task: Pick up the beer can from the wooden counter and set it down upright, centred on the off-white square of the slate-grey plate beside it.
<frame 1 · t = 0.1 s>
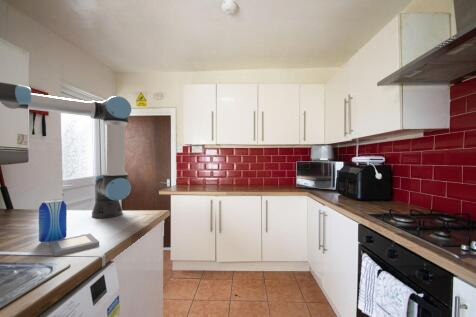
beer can: (53, 242, 90), on the countertop
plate: (74, 245, 85), on the countertop
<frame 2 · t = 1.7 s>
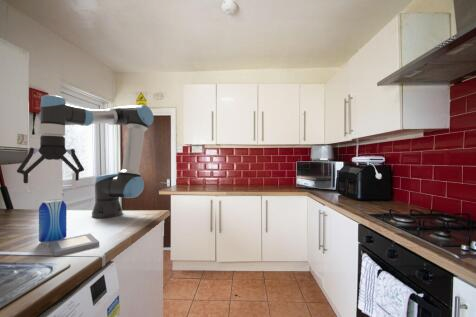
hand: (52, 190, 89), 20 cm above the countertop, tool pointing down, fingers open, 13 cm apart
nothing on the countertop moved.
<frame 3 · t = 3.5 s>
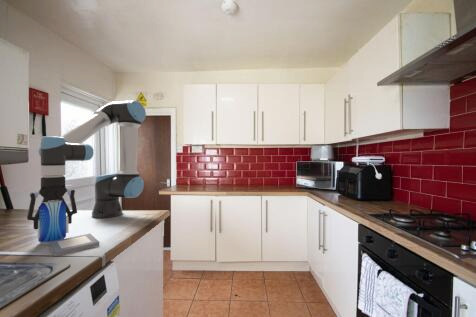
hand: (53, 234, 90), 3 cm above the countertop, tool pointing down, fingers closed on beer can, 8 cm apart
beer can: (52, 242, 90), on the countertop, touching gripper
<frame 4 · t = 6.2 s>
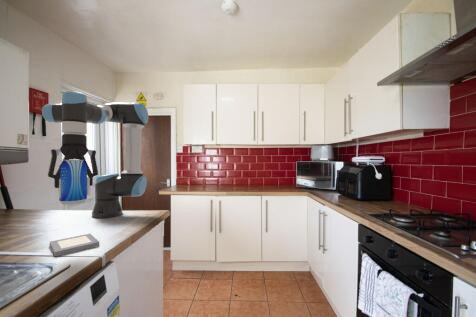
hand: (74, 195, 85), 19 cm above the countertop, tool pointing down, fingers closed on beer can, 8 cm apart
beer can: (73, 203, 85), point 16 cm above the countertop, touching gripper
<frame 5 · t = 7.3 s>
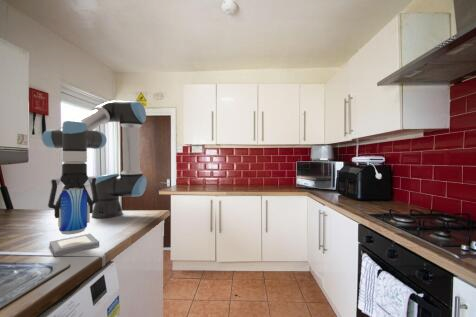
hand: (74, 224, 85), 8 cm above the countertop, tool pointing down, fingers closed on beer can, 8 cm apart
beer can: (73, 232, 85), point 5 cm above the countertop, touching gripper
when the fingers open (4 cm above the countertop, at t = 8.5 s): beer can stays where it is, resting on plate.
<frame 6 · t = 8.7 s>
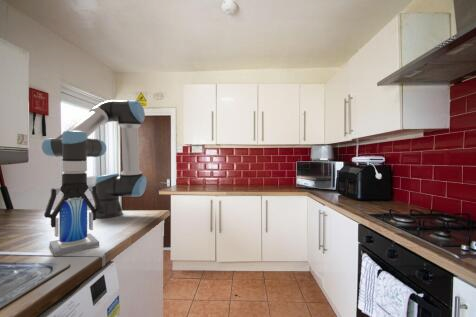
hand: (74, 232, 85), 5 cm above the countertop, tool pointing down, fingers open, 10 cm apart
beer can: (73, 242, 85), point 1 cm above the countertop, touching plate
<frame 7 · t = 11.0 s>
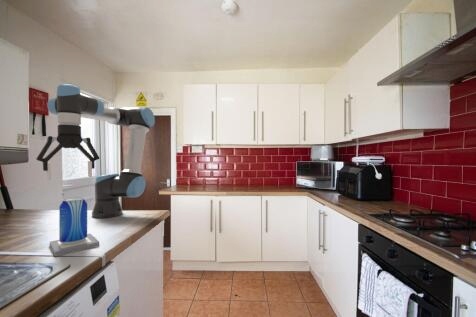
hand: (70, 178, 92), 25 cm above the countertop, tool pointing down, fingers open, 13 cm apart
nothing on the countertop moved.
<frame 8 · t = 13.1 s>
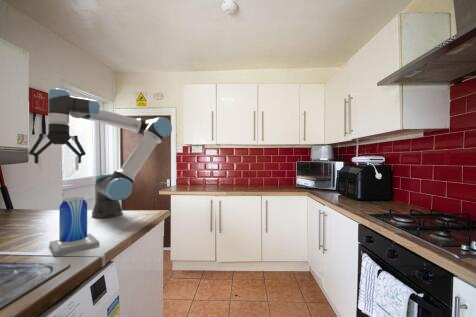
hand: (58, 170, 104), 27 cm above the countertop, tool pointing down, fingers open, 13 cm apart
nothing on the countertop moved.
at the end: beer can 0.2 cm from the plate (horizontally); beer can tilted 0°; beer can touching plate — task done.
